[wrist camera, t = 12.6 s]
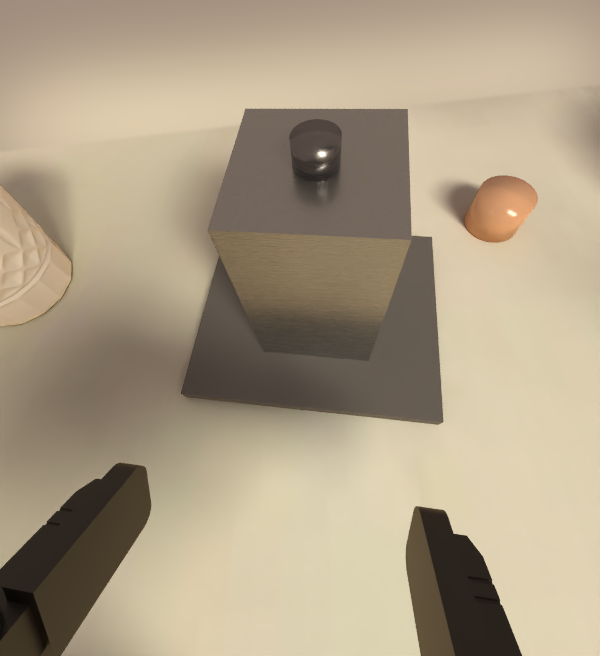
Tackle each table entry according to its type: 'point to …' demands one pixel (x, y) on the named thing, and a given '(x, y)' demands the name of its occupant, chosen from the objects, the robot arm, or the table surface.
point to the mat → (323, 372)
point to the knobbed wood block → (316, 225)
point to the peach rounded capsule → (500, 208)
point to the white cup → (27, 266)
